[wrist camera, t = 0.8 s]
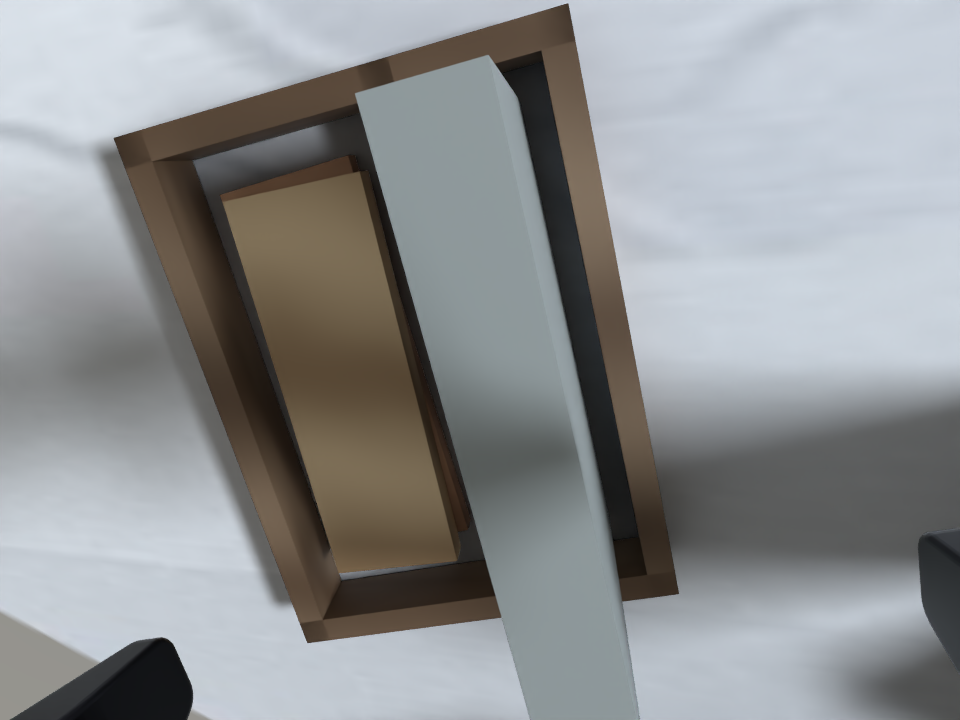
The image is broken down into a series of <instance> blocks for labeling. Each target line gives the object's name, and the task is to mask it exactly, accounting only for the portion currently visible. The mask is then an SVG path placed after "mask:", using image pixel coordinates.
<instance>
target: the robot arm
mask: <svg viewBox="0 0 960 720" xmlns="http://www.w3.org/2000/svg"><path fill="white" fill-rule="evenodd" d="M918 553H919V568H920V584H921V598H922V603H923V607H924V610H925V613H926V616H927V618H928V620H929V622H930V624H931V626H932V628H933V630H934V631H935V633H936V635H937V637H938V638H939V640H940V642H941V643H942V645H943V647H944V649H945V650H946V652H947V654H948V656H949V657H950V659H951V661H952V663H953V664H954V666H955V668H956V670H957V671H958V673H959V675H960V528H955V529H948V530H940V531H933V532H927V533H924V534H923V535H922V536H921V537H920V539H919V543H918ZM192 703H193V689H192V685H191V683H190V680H189V678H188V676H187V674H186V671H185V669H184V667H183V665H182V662H181V660H180V658H179V656H178V653H177V651H176V649H175V647H174V645H173V643H172V642H170V641H169V640H168V639H166V638H162V637H161V638H153V639H146V640H139V641H136V642H133V643H131V644H129V645H128V646H126V647H125V648H123V649H121V650H120V651H118V652H117V653H115V654H114V655H112V656H110V657H109V658H107V659H106V660H104V661H102V662H101V663H99V664H98V665H96V666H94V667H93V668H91V669H90V670H88V671H87V672H85V673H84V674H82V675H80V676H79V677H77V678H76V679H74V680H72V681H71V682H69V683H68V684H66V685H64V686H63V687H61V688H60V689H58V690H57V691H55V692H53V693H52V694H50V695H49V696H47V697H45V698H44V699H42V700H41V701H39V702H37V703H36V704H34V705H33V706H31V707H29V708H28V709H27V710H25V711H23V712H21V713H20V714H18V715H17V716H15V717H14V718H12V719H10V720H187V719H188V716H189V713H190V711H191V708H192Z"/></svg>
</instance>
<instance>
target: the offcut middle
mask: <svg viewBox="0 0 960 720" xmlns="http://www.w3.org/2000/svg"><path fill="white" fill-rule="evenodd" d="M359 171H360V170H359V167H358V163H357V160H356V157H355V155H347V156H344V157H341V158H337V159H334V160H331V161H328V162H324V163H321V164H318V165H315V166H311V167H308V168H305V169H302V170H299V171H295V172H292V173H289V174H286V175H282V176H279V177H276V178H273V179H270V180H266V181H263V182H260V183H257V184H253V185H250V186H247V187H244V188H241V189H237V190H234V191H231V192H228V193H224V194H221V195H220V197H221V200H222V203H223V202H225V201H229V200H234V199H238V198H243V197H247V196H252V195H256V194H261V193H265V192H270V191H274V190H279V189H283V188H288V187H292V186H297V185H301V184H306V183H310V182H315V181H319V180H323V179H328V178H332V177H337V176H341V175H346V174H350V173H355V172H359ZM399 296H400V295H399ZM400 300H401V298H400ZM401 305H402V302H401ZM402 309H403V313H404V317H405V321H406V325H407V329H408V333H409V337H410V341H411V345H412V349H413V353H414V357H415V361H416V365H417V369H418V373H419V377H420V382H421V386H422V390H423V394H424V398H425V402H426V406H427V410H428V414H429V418H430V422H431V426H432V430H433V434H434V438H435V442H436V446H437V450H438V454H439V459H440V463H441V467H442V471H443V475H444V479H445V483H446V487H447V491H448V495H449V499H450V503H451V507H452V511H453V515H454V519H455V523H456V527H457V531H458V532H459V531H465V530H468V528H469V524H470V520H471V518H470V515H469V512H468V509H467V506H466V502H465V499H464V496H463V493H462V490H461V487H460V484H459V480H458V477H457V474H456V471H455V468H454V465H453V462H452V458H451V455H450V452H449V449H448V446H447V443H446V440H445V437H444V433H443V430H442V427H441V424H440V421H439V418H438V415H437V411H436V408H435V405H434V402H433V399H432V396H431V393H430V389H429V386H428V383H427V380H426V377H425V374H424V371H423V367H422V364H421V361H420V358H419V355H418V352H417V349H416V345H415V342H414V339H413V336H412V333H411V330H410V327H409V324H408V320H407V317H406V314H405V311H404V308H403V305H402Z"/></svg>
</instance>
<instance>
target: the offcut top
mask: <svg viewBox="0 0 960 720" xmlns="http://www.w3.org/2000/svg"><path fill="white" fill-rule="evenodd" d="M223 205H224V208H225V211H226V215H227V218H228V221H229V224H230V227H231V231H232V234H233V237H234V240H235V243H236V247H237V250H238V253H239V256H240V259H241V263H242V266H243V269H244V272H245V275H246V279H247V282H248V285H249V288H250V291H251V295H252V298H253V301H254V304H255V307H256V311H257V314H258V317H259V320H260V323H261V327H262V330H263V333H264V336H265V339H266V343H267V346H268V349H269V352H270V355H271V359H272V362H273V365H274V368H275V371H276V375H277V378H278V381H279V384H280V387H281V391H282V394H283V397H284V400H285V403H286V407H287V410H288V413H289V416H290V419H291V423H292V426H293V429H294V432H295V435H296V438H297V442H298V445H299V448H300V451H301V454H302V458H303V461H304V464H305V467H306V470H307V474H308V477H309V480H310V483H311V486H312V490H313V493H314V496H315V499H316V502H317V506H318V509H319V512H320V515H321V518H322V522H323V525H324V528H325V531H326V534H327V538H328V541H329V544H330V547H331V550H332V554H333V557H334V560H335V563H336V566H337V570H338V573H346V572H356V571H365V570H375V569H385V568H395V567H404V566H414V565H424V564H434V563H443V562H453V561H457V560H458V556H459V553H460V549H461V544H460V540H459V536H458V531H457V527H456V523H455V519H454V515H453V511H452V507H451V503H450V499H449V495H448V491H447V487H446V483H445V479H444V475H443V471H442V467H441V463H440V459H439V454H438V450H437V446H436V442H435V438H434V434H433V430H432V426H431V422H430V418H429V414H428V410H427V406H426V402H425V398H424V394H423V390H422V386H421V382H420V377H419V373H418V369H417V365H416V361H415V357H414V353H413V349H412V345H411V341H410V337H409V333H408V329H407V325H406V321H405V317H404V313H403V309H402V305H401V300H400V296H399V292H398V288H397V284H396V280H395V276H394V272H393V268H392V264H391V260H390V256H389V252H388V248H387V244H386V240H385V236H384V232H383V228H382V223H381V219H380V215H379V211H378V207H377V203H376V199H375V195H374V191H373V187H372V183H371V179H370V175H369V171H359V172H355V173H350V174H346V175H341V176H337V177H332V178H328V179H323V180H319V181H315V182H310V183H306V184H301V185H297V186H292V187H288V188H283V189H279V190H274V191H270V192H265V193H261V194H256V195H252V196H247V197H243V198H238V199H234V200H229V201H225V202H223Z"/></svg>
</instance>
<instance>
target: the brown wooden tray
mask: <svg viewBox="0 0 960 720" xmlns="http://www.w3.org/2000/svg"><path fill="white" fill-rule="evenodd" d="M486 55H489V56H490V58H491V59H492V61H493V62H494V64H495V65H496V67H497V68H498V69H499V71H500V72H501V73H504V72H507V71H511V70H514V69H518V68H521V67H525V66H528V65H532V64H535V63H539V62H542V61H543V64H544V69H545V74H546V79H547V84H548V89H549V94H550V99H551V104H552V109H553V114H554V119H555V124H556V129H557V134H558V139H559V144H560V148H561V153H562V158H563V163H564V168H565V173H566V178H567V183H568V188H569V193H570V198H571V203H572V208H573V213H574V218H575V223H576V228H577V233H578V238H579V243H580V248H581V252H582V257H583V262H584V267H585V272H586V277H587V282H588V287H589V292H590V297H591V302H592V307H593V312H594V317H595V322H596V327H597V332H598V337H599V342H600V347H601V352H602V356H603V361H604V366H605V371H606V376H607V381H608V386H609V391H610V396H611V401H612V406H613V411H614V416H615V421H616V426H617V431H618V436H619V441H620V446H621V451H622V455H623V460H624V465H625V470H626V475H627V480H628V485H629V490H630V495H631V500H632V505H633V510H634V515H635V520H636V525H637V530H638V535H639V537H635V538H629V539H622V540H615V541H613V544H614V551H615V558H616V564H617V571H618V577H619V584H620V591H621V597H622V601H630V600H637V599H645V598H653V597H660V596H668V595H675V594H679V591H678V586H677V580H676V575H675V570H674V564H673V559H672V554H671V548H670V543H669V538H668V532H667V527H666V522H665V516H664V511H663V506H662V500H661V495H660V490H659V484H658V479H657V474H656V468H655V463H654V458H653V452H652V447H651V442H650V436H649V431H648V426H647V420H646V415H645V410H644V404H643V399H642V394H641V388H640V383H639V378H638V372H637V367H636V362H635V356H634V351H633V346H632V340H631V335H630V330H629V324H628V319H627V314H626V308H625V303H624V298H623V292H622V287H621V282H620V276H619V271H618V266H617V260H616V255H615V250H614V244H613V239H612V234H611V228H610V223H609V218H608V212H607V207H606V202H605V196H604V191H603V186H602V180H601V175H600V170H599V164H598V159H597V154H596V148H595V143H594V138H593V132H592V127H591V122H590V116H589V111H588V106H587V100H586V95H585V90H584V84H583V79H582V74H581V68H580V63H579V58H578V52H577V47H576V42H575V36H574V31H573V26H572V20H571V15H570V10H569V4H564V5H561V6H557V7H554V8H551V9H547V10H544V11H541V12H537V13H534V14H530V15H527V16H524V17H520V18H517V19H514V20H510V21H507V22H503V23H500V24H497V25H493V26H490V27H487V28H483V29H480V30H477V31H473V32H470V33H466V34H463V35H460V36H456V37H453V38H450V39H446V40H443V41H439V42H436V43H433V44H429V45H426V46H423V47H419V48H416V49H412V50H409V51H406V52H402V53H399V54H396V55H392V56H389V57H385V58H382V59H379V60H375V61H372V62H369V63H365V64H362V65H358V66H355V67H352V68H348V69H345V70H342V71H338V72H335V73H331V74H328V75H325V76H321V77H318V78H315V79H311V80H308V81H304V82H301V83H298V84H294V85H291V86H288V87H284V88H281V89H277V90H274V91H271V92H267V93H264V94H261V95H257V96H254V97H251V98H247V99H244V100H240V101H237V102H234V103H230V104H227V105H224V106H220V107H217V108H213V109H210V110H207V111H203V112H200V113H197V114H193V115H190V116H186V117H183V118H180V119H176V120H173V121H170V122H166V123H163V124H159V125H156V126H153V127H149V128H146V129H143V130H139V131H136V132H132V133H129V134H126V135H122V136H119V137H116V138H114V141H115V143H116V146H117V148H118V151H119V154H120V156H121V159H122V161H123V164H124V167H125V169H126V172H127V174H128V177H129V180H130V182H131V185H132V187H133V190H134V193H135V195H136V198H137V200H138V203H139V206H140V208H141V211H142V213H143V216H144V219H145V221H146V224H147V226H148V229H149V232H150V234H151V237H152V240H153V242H154V245H155V247H156V250H157V253H158V255H159V258H160V260H161V263H162V266H163V268H164V271H165V273H166V276H167V279H168V281H169V284H170V286H171V289H172V292H173V294H174V297H175V299H176V302H177V305H178V307H179V310H180V312H181V315H182V318H183V320H184V323H185V325H186V328H187V331H188V333H189V336H190V338H191V341H192V344H193V346H194V349H195V352H196V354H197V357H198V359H199V362H200V365H201V367H202V370H203V372H204V375H205V378H206V380H207V383H208V385H209V388H210V391H211V393H212V396H213V398H214V401H215V404H216V406H217V409H218V411H219V414H220V417H221V419H222V422H223V424H224V427H225V430H226V432H227V435H228V437H229V440H230V443H231V445H232V448H233V450H234V453H235V456H236V458H237V461H238V464H239V466H240V469H241V471H242V474H243V477H244V479H245V482H246V484H247V487H248V490H249V492H250V495H251V497H252V500H253V503H254V505H255V508H256V510H257V513H258V516H259V518H260V521H261V523H262V526H263V529H264V531H265V534H266V536H267V539H268V542H269V544H270V547H271V549H272V552H273V555H274V557H275V560H276V563H277V565H278V568H279V570H280V573H281V576H282V578H283V581H284V583H285V586H286V589H287V591H288V594H289V596H290V599H291V602H292V604H293V607H294V609H295V612H296V615H297V617H298V620H299V622H300V625H301V628H302V630H303V633H304V635H305V638H306V641H307V643H312V642H320V641H327V640H335V639H342V638H350V637H357V636H365V635H373V634H380V633H388V632H395V631H403V630H410V629H418V628H426V627H433V626H441V625H448V624H456V623H463V622H471V621H479V620H486V619H494V618H501V613H500V610H499V606H498V603H497V599H496V596H495V592H494V588H493V585H492V581H491V578H490V574H489V571H488V567H487V563H486V560H481V561H474V562H467V563H461V564H454V565H447V566H441V567H434V568H427V569H420V570H414V571H407V572H400V573H393V574H387V575H380V576H373V577H367V578H360V579H353V580H346V581H341V578H340V575H339V573H338V570H337V567H336V564H335V561H334V558H333V555H332V553H331V550H330V547H329V544H328V541H327V539H326V536H325V533H324V530H323V527H322V524H321V522H320V519H319V516H318V513H317V510H316V508H315V505H314V502H313V499H312V496H311V493H310V491H309V488H308V485H307V482H306V479H305V477H304V474H303V471H302V468H301V465H300V462H299V460H298V457H297V454H296V451H295V448H294V446H293V443H292V440H291V437H290V434H289V431H288V429H287V426H286V423H285V420H284V417H283V415H282V412H281V409H280V406H279V403H278V401H277V398H276V395H275V392H274V389H273V386H272V384H271V381H270V378H269V375H268V372H267V370H266V367H265V364H264V361H263V358H262V355H261V353H260V350H259V347H258V344H257V341H256V339H255V336H254V333H253V330H252V327H251V324H250V322H249V319H248V316H247V313H246V310H245V308H244V305H243V302H242V299H241V296H240V293H239V291H238V288H237V285H236V282H235V279H234V277H233V274H232V271H231V268H230V265H229V262H228V260H227V257H226V254H225V251H224V248H223V246H222V243H221V240H220V237H219V234H218V231H217V229H216V226H215V223H214V220H213V217H212V215H211V212H210V209H209V206H208V203H207V200H206V198H205V195H204V192H203V189H202V186H201V184H200V181H199V178H198V175H197V172H196V169H195V167H194V164H193V161H192V160H196V159H199V158H203V157H206V156H210V155H213V154H217V153H220V152H224V151H228V150H231V149H235V148H238V147H242V146H245V145H249V144H252V143H256V142H259V141H263V140H266V139H270V138H274V137H277V136H281V135H284V134H288V133H291V132H295V131H298V130H302V129H305V128H309V127H312V126H316V125H320V124H323V123H327V122H330V121H334V120H337V119H341V118H344V117H348V116H351V115H355V114H358V113H360V110H359V106H358V103H357V99H356V96H355V93H358V92H361V91H365V90H368V89H372V88H375V87H379V86H382V85H386V84H389V83H392V82H396V81H399V80H403V79H406V78H410V77H413V76H417V75H420V74H424V73H427V72H431V71H434V70H437V69H441V68H444V67H448V66H451V65H455V64H458V63H462V62H465V61H469V60H472V59H476V58H479V57H483V56H486Z"/></svg>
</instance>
